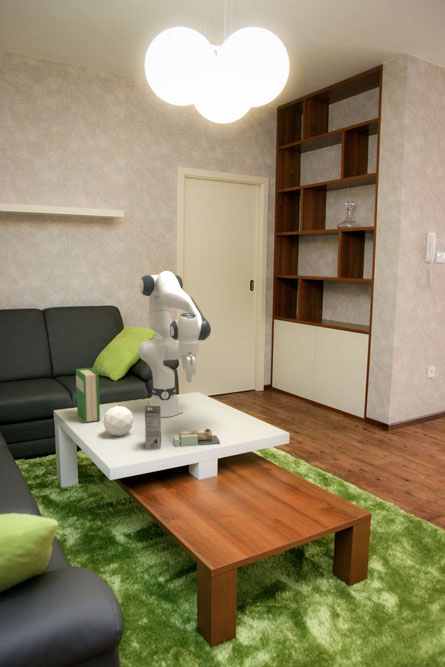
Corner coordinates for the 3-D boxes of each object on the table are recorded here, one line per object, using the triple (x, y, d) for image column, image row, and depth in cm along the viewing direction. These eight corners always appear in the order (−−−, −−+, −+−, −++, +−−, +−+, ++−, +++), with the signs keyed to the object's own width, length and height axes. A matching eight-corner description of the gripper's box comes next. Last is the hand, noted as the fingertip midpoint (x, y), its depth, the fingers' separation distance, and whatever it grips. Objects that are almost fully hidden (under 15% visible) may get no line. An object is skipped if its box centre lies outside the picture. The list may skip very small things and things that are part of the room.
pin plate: (196, 438, 233) (196, 436, 233) (216, 437, 234) (216, 435, 234) (199, 445, 224) (198, 442, 224) (219, 443, 226) (219, 441, 226)
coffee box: (146, 442, 228) (145, 405, 226) (161, 441, 229) (160, 405, 227) (145, 449, 219) (144, 411, 217) (160, 448, 220) (160, 411, 218)
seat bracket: (173, 441, 228) (173, 432, 228) (195, 440, 230) (195, 431, 230) (174, 446, 222) (174, 437, 222) (197, 445, 224) (197, 436, 224)
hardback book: (100, 421, 259) (98, 373, 256) (84, 423, 256) (83, 375, 253) (91, 413, 275) (90, 367, 272) (77, 414, 272) (75, 368, 269)
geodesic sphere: (99, 418, 245) (101, 399, 236) (128, 414, 250) (132, 396, 241) (104, 443, 236) (106, 424, 227) (134, 439, 241) (138, 421, 232)
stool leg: (211, 436, 231) (211, 427, 231) (212, 439, 228) (212, 430, 227) (179, 438, 228) (179, 429, 228) (180, 441, 225) (180, 432, 224)
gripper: (199, 353, 222) (199, 386, 223) (192, 346, 241) (192, 376, 243) (184, 354, 220) (184, 386, 222) (178, 347, 240) (179, 377, 242)
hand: (188, 381), depth 233 cm, fingers closed
